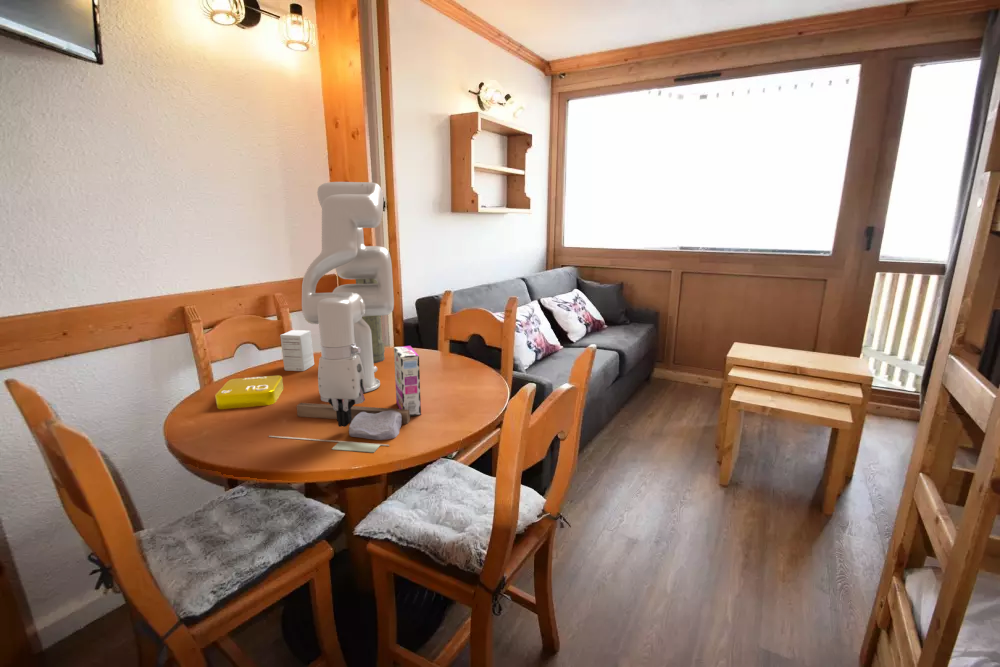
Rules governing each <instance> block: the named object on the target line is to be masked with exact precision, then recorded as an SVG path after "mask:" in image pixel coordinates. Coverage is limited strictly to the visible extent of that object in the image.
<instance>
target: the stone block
mask: <svg viewBox="0 0 1000 667" xmlns="http://www.w3.org/2000/svg"><path fill="white" fill-rule="evenodd" d="M401 422H402V416H401V414H400V413H399V412H396V411H393V410H390V411H382V412H380V413H376V414H373V413H366V412H360V413H359V414H358V415H356V416H355V418H354V419H353V420H351V422H350V423H349V425H348V426H349V427H348V434H349V436H350V437H352V438H360V439H366V440H377V441H383V440H385V441H386V440H392V439H396V438H397V436H398V435H399V434H400V429H401V426H402V425H403V424H402V423H401Z"/></svg>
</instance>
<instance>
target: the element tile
mask: <svg viewBox="0 0 1000 667" xmlns="http://www.w3.org/2000/svg"><path fill="white" fill-rule="evenodd" d="M283 381H284V380H283V377H282V375H266V376H252V377H241V378H239V377H238V378H230V379H229V380H227V381H226V383H224V385H223V386H222V387H221V388H220V389H219V390H218V391H217V392H216V393H215V395H214V396H215V403H216V409H219V410H228V409H239V408H240V409H241V408H251V407H252V408H254V407H261V406H265V407H267V406H270V405H271V406H272V405H273V404H275V403H277V401H278V400H279V397H280V396H281V394H282V392H283V390H284V383H283Z"/></svg>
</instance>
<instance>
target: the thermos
mask: <svg viewBox="0 0 1000 667" xmlns="http://www.w3.org/2000/svg"><path fill="white" fill-rule="evenodd" d="M355 284H378V282H377V280H375V279H355ZM362 319H363V320H364V321H365V322H366V323H367V324H368V325H369V327H370V329H371V334H372V349H373V363H374V364H377V363H380V362H383V361H385V359H386V358H385V351H386V350H385V343H384V340H383V330H382V329H383V328H382V315H381V316H363V317H362Z"/></svg>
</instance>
